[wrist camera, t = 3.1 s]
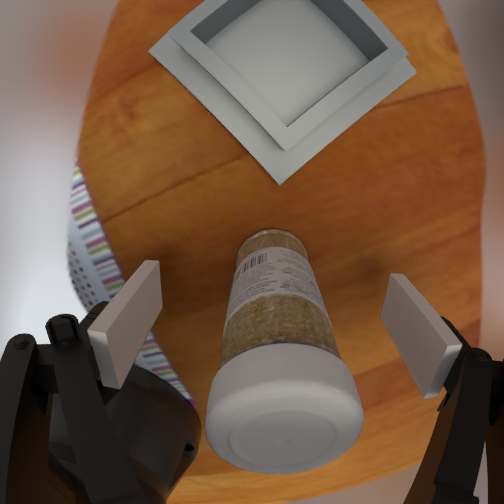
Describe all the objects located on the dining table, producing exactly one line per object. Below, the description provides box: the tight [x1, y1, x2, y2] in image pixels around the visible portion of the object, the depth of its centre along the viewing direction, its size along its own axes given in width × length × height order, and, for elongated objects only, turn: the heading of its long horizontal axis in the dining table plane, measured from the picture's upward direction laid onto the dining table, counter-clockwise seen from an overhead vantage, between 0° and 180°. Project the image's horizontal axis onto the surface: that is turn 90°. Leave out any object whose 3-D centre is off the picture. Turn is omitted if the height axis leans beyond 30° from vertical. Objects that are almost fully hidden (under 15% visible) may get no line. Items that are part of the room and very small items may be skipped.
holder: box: [148, 0, 417, 185], centre depth 14 cm, size 11×11×4 cm
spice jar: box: [205, 229, 364, 474], centre depth 14 cm, size 5×5×14 cm
